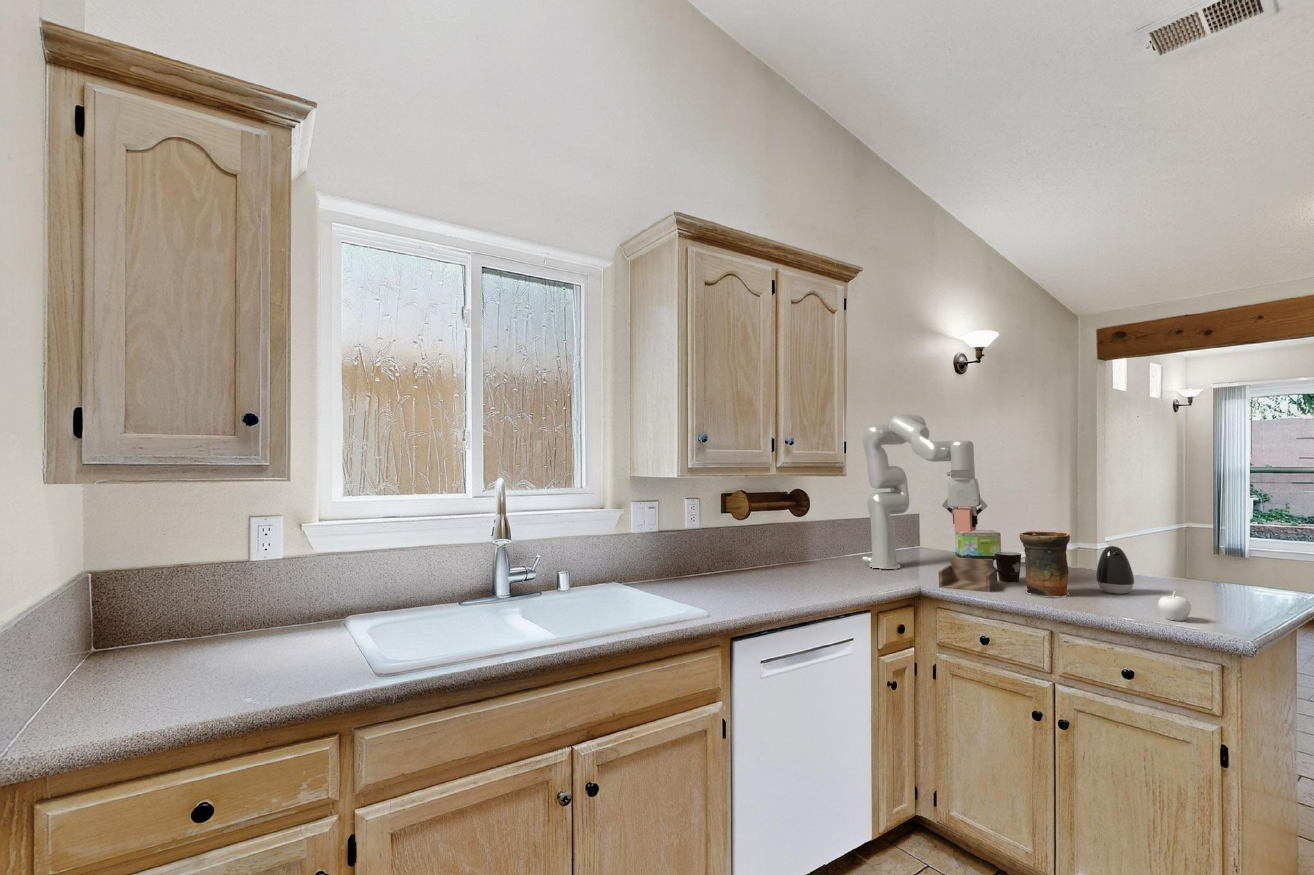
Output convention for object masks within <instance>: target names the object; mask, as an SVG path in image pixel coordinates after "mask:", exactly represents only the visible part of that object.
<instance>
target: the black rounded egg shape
mask: <svg viewBox="0 0 1314 875" xmlns="http://www.w3.org/2000/svg"><path fill="white" fill-rule="evenodd" d="M1134 577H1135V576H1134V573H1133V570H1132V566H1131V564H1130V561H1129V559H1128V557H1127V554H1126V553H1125V552H1124V551H1123V549H1122V548H1120V547H1118V546H1115V545H1110V546H1107V547H1105V548H1104V549H1103V551H1101V554H1100V556H1099V559H1098V563H1097V567H1096V574H1095V581H1096V582H1097V585H1098V586H1099V588H1100V589H1101V590H1102V591H1104V592H1105V593H1108V594H1112V593H1114V595H1125V594H1128V593H1129V592H1131V590H1132V589H1133V587H1134V584H1135V578H1134Z"/></svg>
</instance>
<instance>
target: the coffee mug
mask: <svg viewBox="0 0 1314 875" xmlns="http://www.w3.org/2000/svg"><path fill="white" fill-rule="evenodd" d="M992 560H993V561H994V560H996V564H997V568H995V567H994V569H997V577H998V581H999V582H1002V583H1012V582H1014V583H1020V578H1021V577H1020V574H1021V564H1022V553H1021V552H1017V551H1016V552H1015V551H1001V552H995V558H993V559H992Z"/></svg>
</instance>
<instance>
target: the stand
mask: <svg viewBox="0 0 1314 875" xmlns="http://www.w3.org/2000/svg"><path fill="white" fill-rule="evenodd" d="M998 581H999V580H998V572H997V568H996V569H994V563H993V560H985V559H970V558H956V557H950V565H949V564H948V565H946V566H945V567H944V568H941V569H940V570H938V587H939V588H940V587H944V588H943V589H951V588H953V590H962V589H963V591H964V590H965V591H975V592H985V593H986V592H987V593H991V592H992V591H993V590H994V589H995V587H996V586H998Z"/></svg>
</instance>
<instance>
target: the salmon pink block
mask: <svg viewBox="0 0 1314 875" xmlns="http://www.w3.org/2000/svg"><path fill="white" fill-rule="evenodd" d="M972 516H973V513H972V510H971V508H970V507H958V509H956V510H954V524H953V525H954V532H972V531H974V530H977V526H976V527H972Z"/></svg>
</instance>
